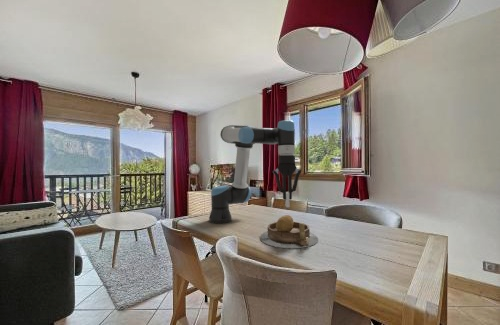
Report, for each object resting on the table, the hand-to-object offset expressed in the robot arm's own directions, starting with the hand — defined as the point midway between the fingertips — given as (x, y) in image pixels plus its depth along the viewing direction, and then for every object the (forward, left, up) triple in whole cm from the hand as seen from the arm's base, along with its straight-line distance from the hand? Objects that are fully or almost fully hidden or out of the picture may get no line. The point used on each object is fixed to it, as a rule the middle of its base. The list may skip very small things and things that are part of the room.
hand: (287, 206), depth 104 cm
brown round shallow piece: (-1, +11, -17) cm, 20 cm away
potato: (+1, +7, -12) cm, 14 cm away
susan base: (-2, +12, -18) cm, 22 cm away
